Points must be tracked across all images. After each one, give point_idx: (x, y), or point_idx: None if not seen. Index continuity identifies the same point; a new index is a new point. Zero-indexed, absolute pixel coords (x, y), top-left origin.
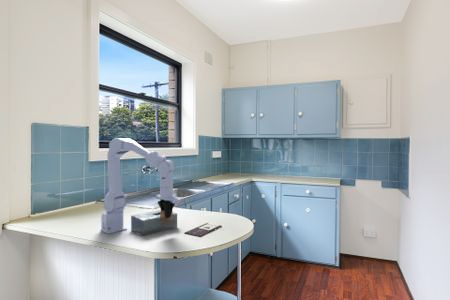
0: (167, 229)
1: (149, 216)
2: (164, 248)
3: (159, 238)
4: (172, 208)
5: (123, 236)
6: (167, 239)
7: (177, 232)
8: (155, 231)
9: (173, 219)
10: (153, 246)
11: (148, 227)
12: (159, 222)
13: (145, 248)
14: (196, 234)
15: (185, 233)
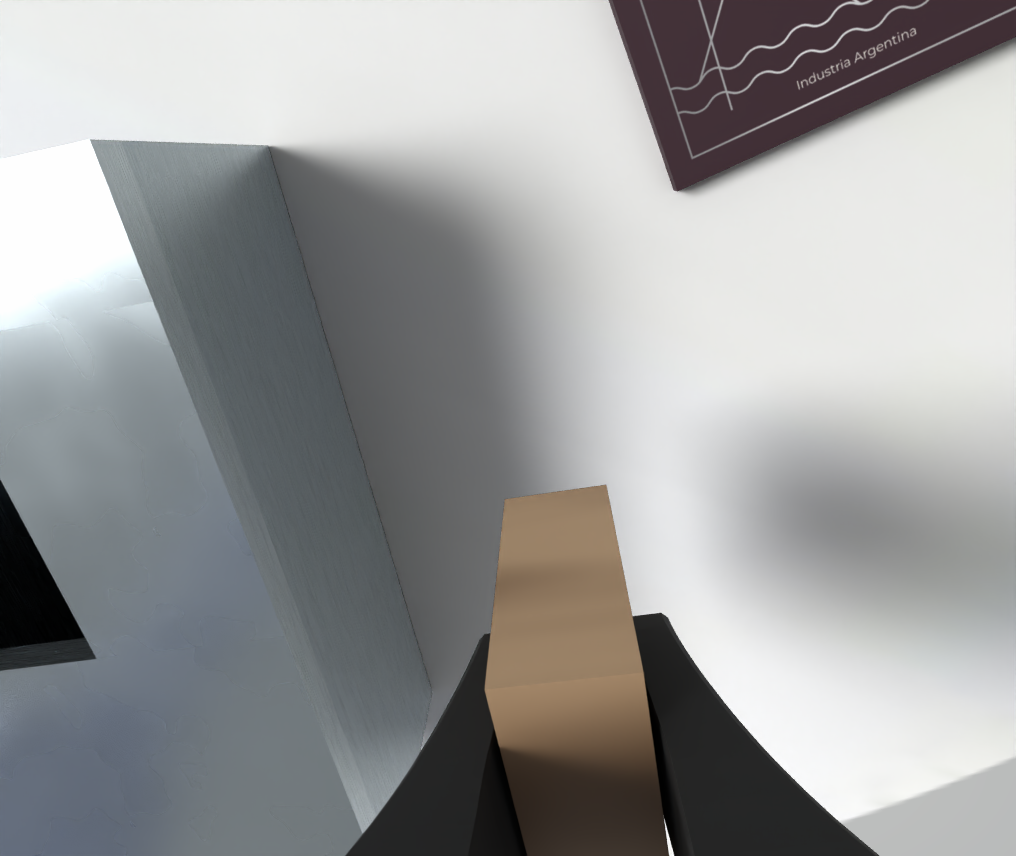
0: (327, 360)
1: (147, 764)
2: (1008, 664)
3: (636, 586)
4: (799, 794)
5: None
6: (746, 524)
7: (540, 268)
8: (384, 564)
9: (216, 258)
10: (850, 724)
11: (396, 718)
12: (327, 581)
13: (841, 793)
14: (950, 35)
15: (699, 179)
